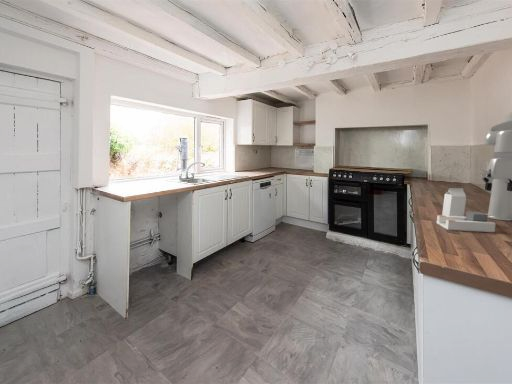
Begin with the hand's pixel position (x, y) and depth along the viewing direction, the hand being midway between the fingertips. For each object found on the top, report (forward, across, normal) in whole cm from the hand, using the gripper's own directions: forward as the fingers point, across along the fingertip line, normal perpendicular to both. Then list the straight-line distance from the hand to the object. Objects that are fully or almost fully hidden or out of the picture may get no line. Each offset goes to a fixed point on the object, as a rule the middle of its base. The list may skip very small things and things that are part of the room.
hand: (498, 190), depth 119 cm
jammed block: (+19, +8, 0) cm, 20 cm away
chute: (+20, +13, 0) cm, 24 cm away
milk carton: (+20, +12, -13) cm, 27 cm away
